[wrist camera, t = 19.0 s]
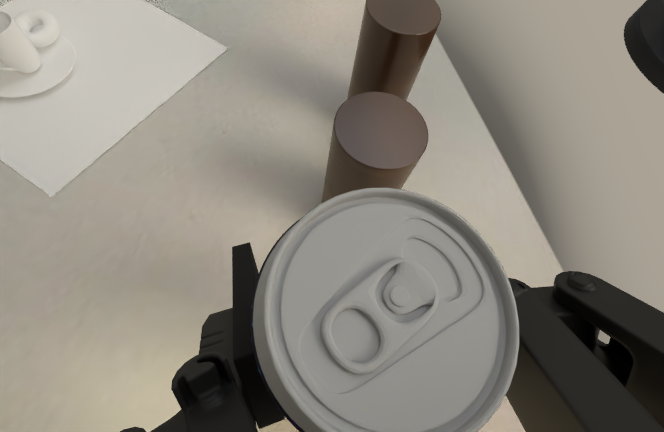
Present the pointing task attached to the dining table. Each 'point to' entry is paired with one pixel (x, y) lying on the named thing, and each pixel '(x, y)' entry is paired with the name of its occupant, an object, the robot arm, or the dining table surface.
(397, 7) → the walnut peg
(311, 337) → the beverage can
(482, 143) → the dining table surface
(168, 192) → the dining table surface
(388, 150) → the walnut peg middle
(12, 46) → the teacup and saucer
